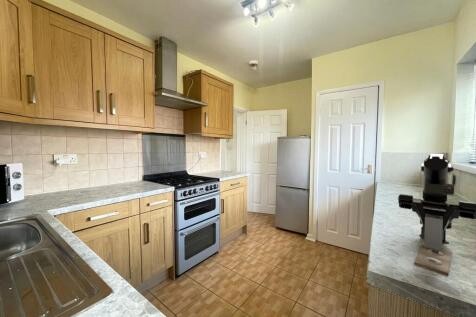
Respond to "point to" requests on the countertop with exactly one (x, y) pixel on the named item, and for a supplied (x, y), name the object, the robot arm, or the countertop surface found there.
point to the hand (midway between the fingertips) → (433, 228)
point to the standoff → (433, 232)
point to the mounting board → (434, 259)
